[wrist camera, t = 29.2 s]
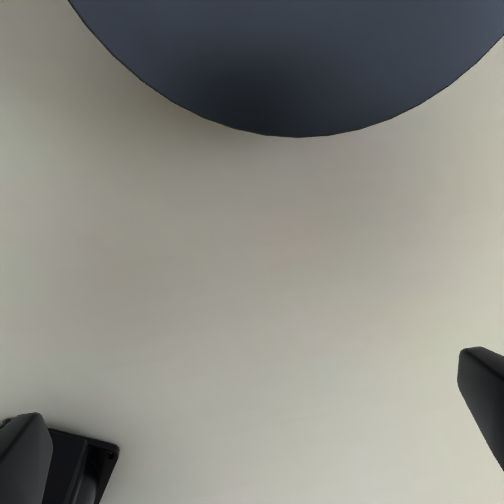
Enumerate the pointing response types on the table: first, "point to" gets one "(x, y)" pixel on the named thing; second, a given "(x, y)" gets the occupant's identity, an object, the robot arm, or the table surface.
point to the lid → (296, 56)
